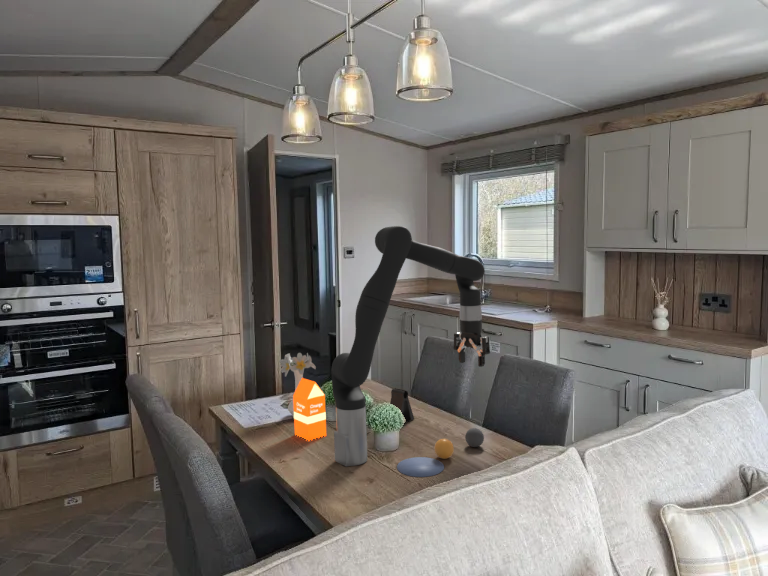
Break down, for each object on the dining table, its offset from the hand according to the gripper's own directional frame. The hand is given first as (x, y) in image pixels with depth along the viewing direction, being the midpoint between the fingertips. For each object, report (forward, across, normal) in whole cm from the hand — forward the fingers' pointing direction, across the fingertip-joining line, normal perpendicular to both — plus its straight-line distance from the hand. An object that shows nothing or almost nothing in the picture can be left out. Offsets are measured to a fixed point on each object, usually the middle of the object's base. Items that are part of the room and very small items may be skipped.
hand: (471, 364), depth 193 cm
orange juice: (+24, -38, -43) cm, 62 cm away
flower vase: (+24, -59, -34) cm, 73 cm away
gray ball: (+21, +9, -10) cm, 25 cm away
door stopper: (+24, -27, -10) cm, 37 cm away
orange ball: (+21, +9, -24) cm, 33 cm away
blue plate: (+24, +9, -34) cm, 43 cm away
